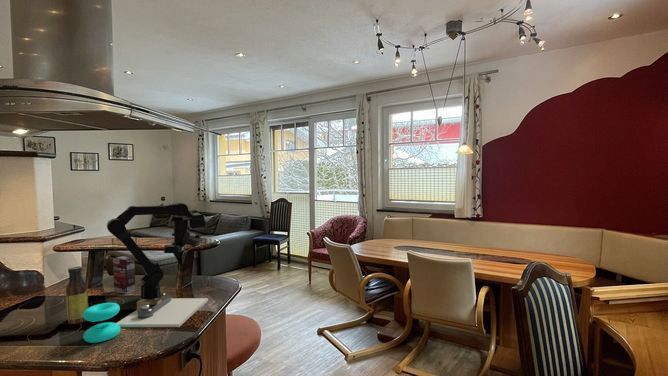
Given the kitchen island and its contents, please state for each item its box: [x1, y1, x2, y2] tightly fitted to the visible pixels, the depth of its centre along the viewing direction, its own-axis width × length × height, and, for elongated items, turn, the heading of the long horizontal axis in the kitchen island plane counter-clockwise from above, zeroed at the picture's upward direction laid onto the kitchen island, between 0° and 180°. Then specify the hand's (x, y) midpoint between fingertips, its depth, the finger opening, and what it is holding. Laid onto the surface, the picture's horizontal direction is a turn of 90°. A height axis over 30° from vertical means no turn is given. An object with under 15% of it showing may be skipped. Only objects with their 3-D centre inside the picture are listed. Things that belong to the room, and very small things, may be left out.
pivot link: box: [138, 294, 172, 319], centre depth 128 cm, size 18×5×4 cm, turn 178°
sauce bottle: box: [65, 266, 89, 325], centre depth 120 cm, size 7×6×20 cm
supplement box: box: [112, 256, 136, 295], centre depth 152 cm, size 9×5×16 cm, turn 69°
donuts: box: [83, 302, 122, 344], centre depth 108 cm, size 10×10×10 cm
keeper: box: [136, 298, 162, 312], centre depth 127 cm, size 8×3×4 cm, turn 89°
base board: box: [116, 297, 209, 328], centre depth 127 cm, size 23×25×1 cm
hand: (181, 264), depth 150 cm, fingers closed
